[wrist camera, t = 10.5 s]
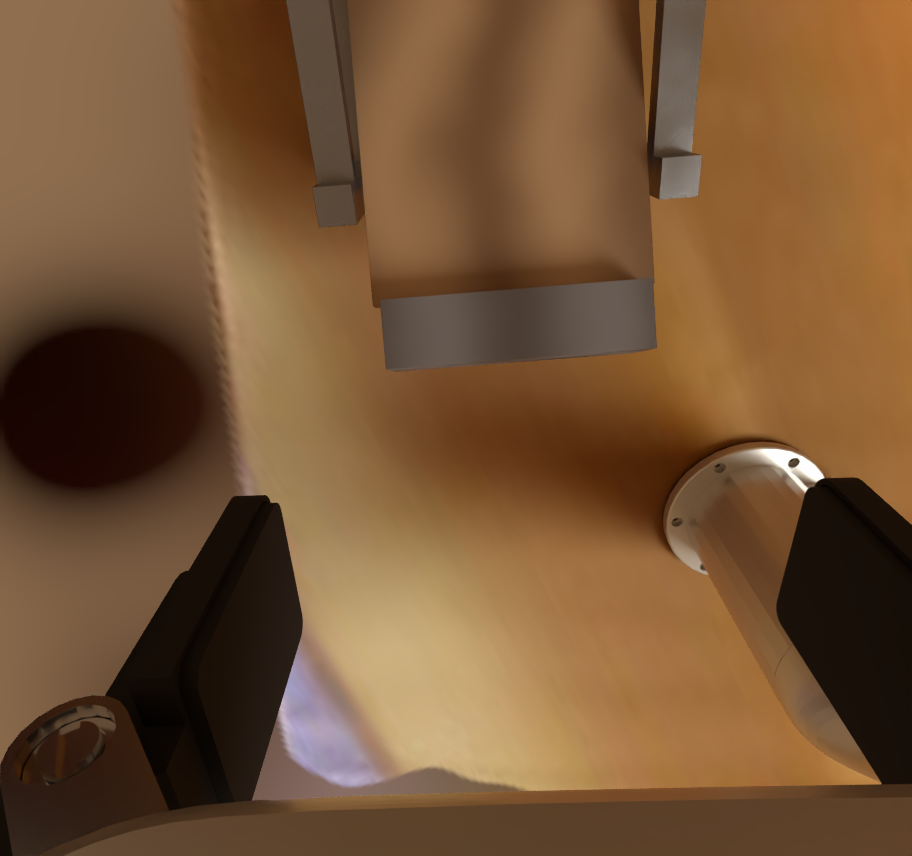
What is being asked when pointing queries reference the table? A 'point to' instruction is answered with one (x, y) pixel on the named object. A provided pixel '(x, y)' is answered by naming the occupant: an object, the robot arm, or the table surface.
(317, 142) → the frame
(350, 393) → the table surface
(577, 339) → the trapdoor
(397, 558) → the table surface
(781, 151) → the table surface
